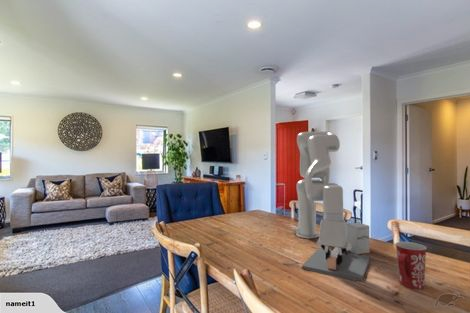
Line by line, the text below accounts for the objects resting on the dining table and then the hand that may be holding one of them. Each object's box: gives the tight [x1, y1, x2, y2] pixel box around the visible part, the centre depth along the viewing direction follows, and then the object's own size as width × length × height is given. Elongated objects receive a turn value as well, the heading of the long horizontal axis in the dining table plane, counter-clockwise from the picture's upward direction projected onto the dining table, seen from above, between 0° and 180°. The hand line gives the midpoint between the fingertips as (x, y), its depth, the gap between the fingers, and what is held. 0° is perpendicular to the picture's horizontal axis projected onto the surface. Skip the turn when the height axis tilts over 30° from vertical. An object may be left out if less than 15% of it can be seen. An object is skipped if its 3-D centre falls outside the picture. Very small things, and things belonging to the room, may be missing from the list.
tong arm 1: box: [327, 247, 338, 269], centre depth 111 cm, size 2×18×4 cm, turn 148°
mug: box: [395, 241, 427, 290], centre depth 93 cm, size 13×9×14 cm
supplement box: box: [346, 222, 370, 255], centre depth 126 cm, size 7×7×13 cm
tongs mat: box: [301, 247, 371, 282], centre depth 112 cm, size 22×24×1 cm
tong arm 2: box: [331, 251, 345, 270], centre depth 110 cm, size 2×18×4 cm, turn 147°
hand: (334, 262), depth 107 cm, fingers open, 3 cm apart
